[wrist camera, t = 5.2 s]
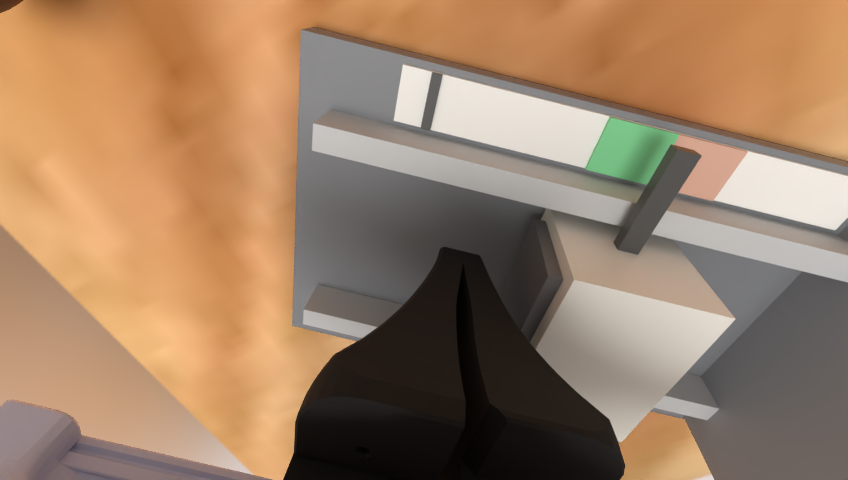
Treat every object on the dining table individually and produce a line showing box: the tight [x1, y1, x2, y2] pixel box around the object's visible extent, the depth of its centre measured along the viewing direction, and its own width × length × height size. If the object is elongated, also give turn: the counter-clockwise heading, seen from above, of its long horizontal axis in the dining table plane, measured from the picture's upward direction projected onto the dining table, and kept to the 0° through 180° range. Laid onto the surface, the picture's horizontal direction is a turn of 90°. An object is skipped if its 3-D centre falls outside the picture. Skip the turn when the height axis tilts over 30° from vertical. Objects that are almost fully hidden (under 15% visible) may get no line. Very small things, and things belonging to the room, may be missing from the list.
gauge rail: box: [292, 27, 848, 480], centre depth 12 cm, size 12×20×7 cm, turn 78°
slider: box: [500, 144, 735, 442], centre depth 12 cm, size 9×4×4 cm, turn 168°
